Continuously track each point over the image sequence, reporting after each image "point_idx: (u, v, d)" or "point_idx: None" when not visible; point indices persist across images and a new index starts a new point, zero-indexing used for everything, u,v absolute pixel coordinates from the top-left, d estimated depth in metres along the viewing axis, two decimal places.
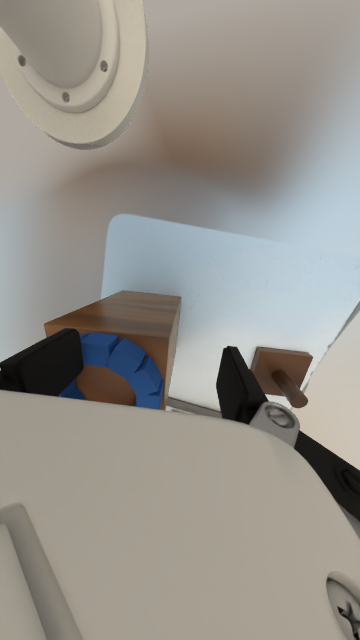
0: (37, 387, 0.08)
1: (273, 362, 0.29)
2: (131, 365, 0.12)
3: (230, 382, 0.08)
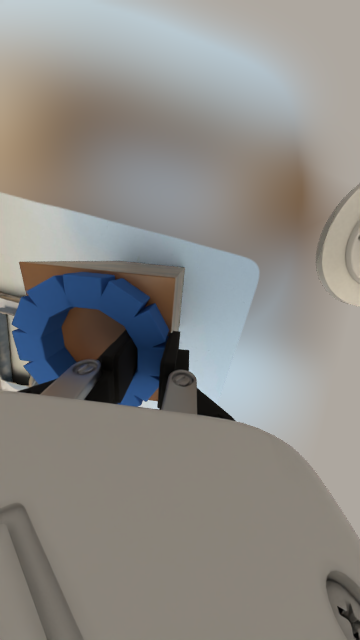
0: (122, 377, 0.09)
1: None
2: (143, 395, 0.11)
3: None
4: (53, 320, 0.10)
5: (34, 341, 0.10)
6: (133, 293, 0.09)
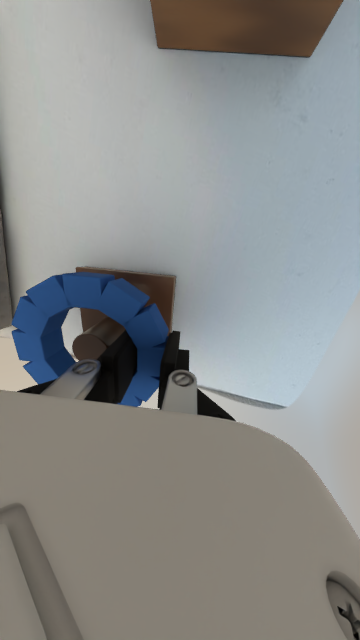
0: (122, 377, 0.09)
1: None
2: (143, 395, 0.11)
3: None
4: (53, 320, 0.10)
5: (33, 341, 0.10)
6: (132, 293, 0.09)
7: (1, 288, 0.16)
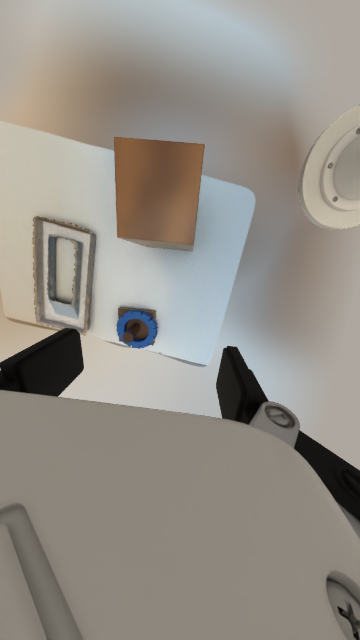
0: (37, 387, 0.08)
1: None
2: (149, 342, 0.41)
3: (230, 382, 0.08)
4: (127, 321, 0.40)
5: (122, 327, 0.40)
6: (147, 315, 0.39)
7: (87, 315, 0.42)
